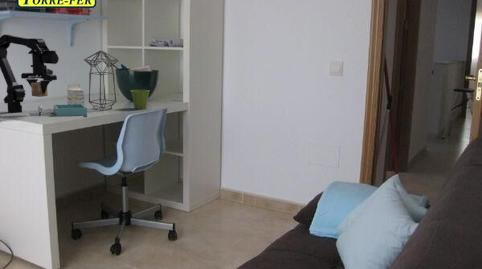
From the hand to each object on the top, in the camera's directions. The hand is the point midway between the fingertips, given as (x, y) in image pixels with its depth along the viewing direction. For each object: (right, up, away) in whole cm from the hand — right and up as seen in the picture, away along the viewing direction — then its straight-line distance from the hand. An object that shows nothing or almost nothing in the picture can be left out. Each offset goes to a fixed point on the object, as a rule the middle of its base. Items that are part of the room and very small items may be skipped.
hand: (39, 93), depth 251 cm
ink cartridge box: (+8, -7, +34) cm, 36 cm away
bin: (+13, -11, +9) cm, 19 cm away
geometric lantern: (+22, -7, +36) cm, 43 cm away
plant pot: (+43, -6, +46) cm, 63 cm away
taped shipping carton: (0, -2, 0) cm, 2 cm away
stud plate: (-1, -12, +2) cm, 12 cm away
